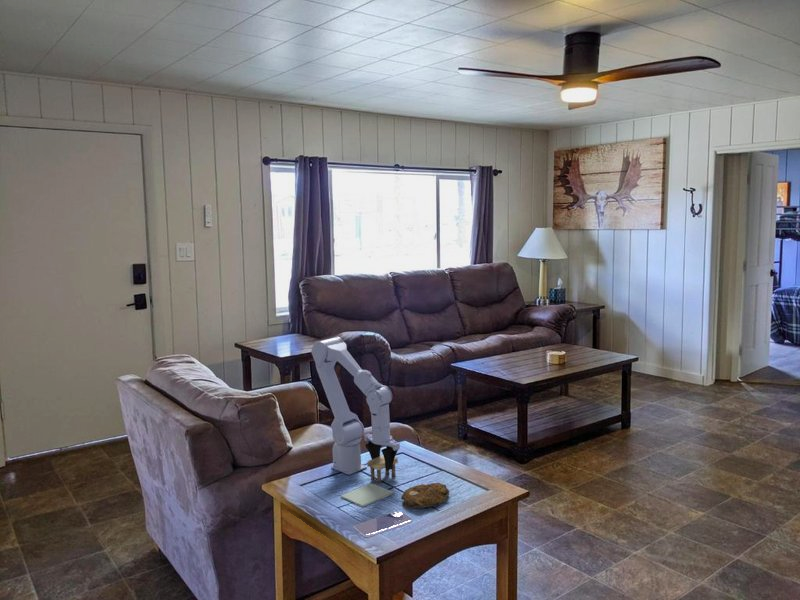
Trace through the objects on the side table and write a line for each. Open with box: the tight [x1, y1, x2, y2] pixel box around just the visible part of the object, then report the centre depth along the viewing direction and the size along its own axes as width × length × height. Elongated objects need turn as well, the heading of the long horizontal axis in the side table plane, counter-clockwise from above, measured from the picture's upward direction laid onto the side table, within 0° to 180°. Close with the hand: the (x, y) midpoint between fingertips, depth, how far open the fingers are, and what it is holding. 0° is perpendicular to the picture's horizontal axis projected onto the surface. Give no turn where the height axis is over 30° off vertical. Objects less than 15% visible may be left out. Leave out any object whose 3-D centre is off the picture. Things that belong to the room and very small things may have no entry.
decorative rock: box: [401, 482, 451, 509], centre depth 179 cm, size 11×4×15 cm
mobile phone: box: [353, 510, 414, 538], centre depth 166 cm, size 8×1×15 cm
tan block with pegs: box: [366, 454, 399, 484], centre depth 196 cm, size 5×8×6 cm
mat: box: [340, 482, 394, 508], centre depth 184 cm, size 10×12×1 cm
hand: (382, 466), depth 196 cm, fingers closed on tan block with pegs, 5 cm apart
